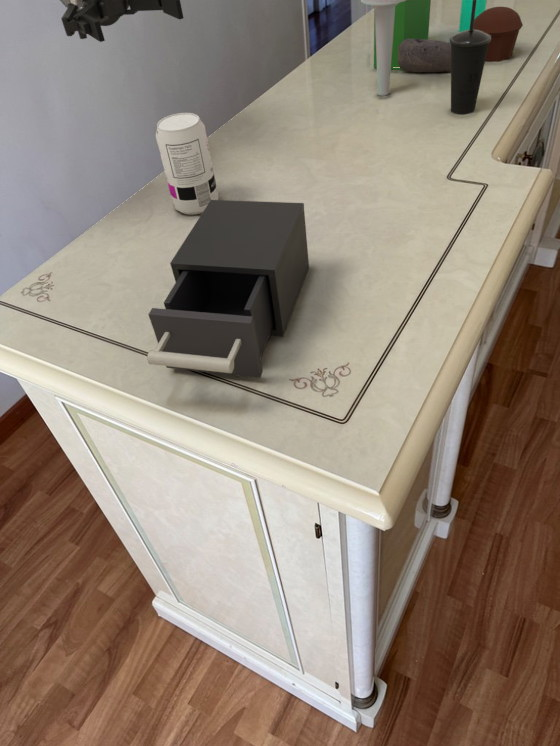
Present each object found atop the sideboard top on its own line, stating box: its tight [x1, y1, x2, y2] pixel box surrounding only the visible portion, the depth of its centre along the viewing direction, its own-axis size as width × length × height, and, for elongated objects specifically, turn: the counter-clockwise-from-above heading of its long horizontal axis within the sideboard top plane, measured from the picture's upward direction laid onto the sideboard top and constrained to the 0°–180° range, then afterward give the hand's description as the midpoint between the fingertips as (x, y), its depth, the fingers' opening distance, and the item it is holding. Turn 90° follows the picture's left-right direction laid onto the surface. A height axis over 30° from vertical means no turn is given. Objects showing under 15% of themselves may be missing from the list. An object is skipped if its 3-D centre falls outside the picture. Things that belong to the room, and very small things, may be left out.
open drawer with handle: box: [146, 270, 275, 379], centre depth 74 cm, size 20×13×9 cm, turn 166°
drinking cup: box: [449, 0, 491, 115], centre depth 116 cm, size 8×8×20 cm
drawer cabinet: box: [169, 199, 310, 337], centre depth 82 cm, size 16×14×11 cm
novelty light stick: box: [360, 0, 406, 97], centre depth 125 cm, size 10×10×25 cm
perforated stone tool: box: [397, 38, 451, 73], centre depth 138 cm, size 15×5×7 cm, turn 70°
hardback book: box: [373, 0, 432, 71], centre depth 141 cm, size 18×7×24 cm, turn 150°
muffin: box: [473, 6, 523, 63], centre depth 140 cm, size 12×11×10 cm
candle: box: [458, 0, 488, 33], centre depth 149 cm, size 6×6×12 cm
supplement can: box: [155, 112, 220, 216], centre depth 101 cm, size 8×8×15 cm
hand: (140, 20), depth 92 cm, fingers open, 13 cm apart
